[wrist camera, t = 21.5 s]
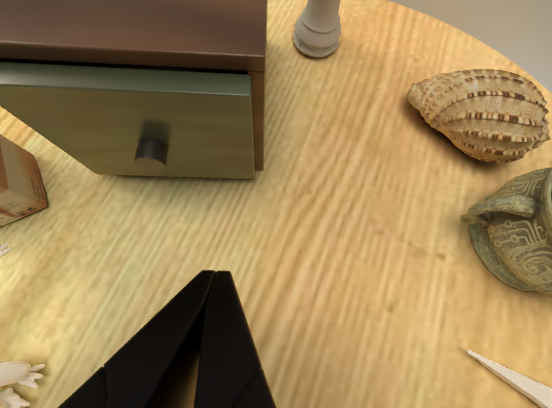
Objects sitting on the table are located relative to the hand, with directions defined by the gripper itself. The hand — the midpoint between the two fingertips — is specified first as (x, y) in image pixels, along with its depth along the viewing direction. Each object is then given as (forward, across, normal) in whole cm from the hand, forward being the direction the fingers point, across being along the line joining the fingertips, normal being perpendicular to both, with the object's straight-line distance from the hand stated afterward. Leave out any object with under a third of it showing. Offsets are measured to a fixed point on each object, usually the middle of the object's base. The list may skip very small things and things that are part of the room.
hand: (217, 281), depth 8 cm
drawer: (+16, +5, -3) cm, 17 cm away
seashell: (+17, -18, -3) cm, 25 cm away
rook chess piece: (+24, -6, -9) cm, 26 cm away
